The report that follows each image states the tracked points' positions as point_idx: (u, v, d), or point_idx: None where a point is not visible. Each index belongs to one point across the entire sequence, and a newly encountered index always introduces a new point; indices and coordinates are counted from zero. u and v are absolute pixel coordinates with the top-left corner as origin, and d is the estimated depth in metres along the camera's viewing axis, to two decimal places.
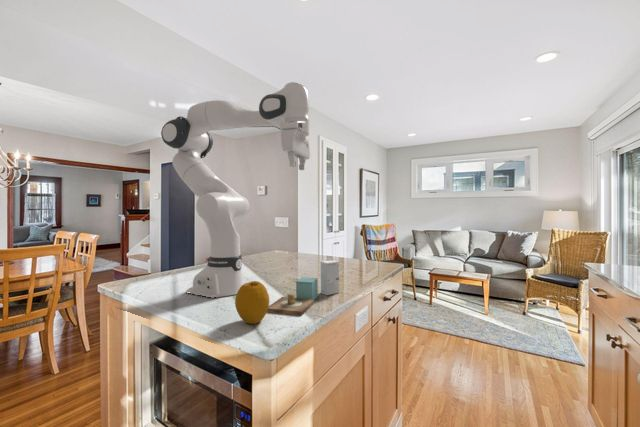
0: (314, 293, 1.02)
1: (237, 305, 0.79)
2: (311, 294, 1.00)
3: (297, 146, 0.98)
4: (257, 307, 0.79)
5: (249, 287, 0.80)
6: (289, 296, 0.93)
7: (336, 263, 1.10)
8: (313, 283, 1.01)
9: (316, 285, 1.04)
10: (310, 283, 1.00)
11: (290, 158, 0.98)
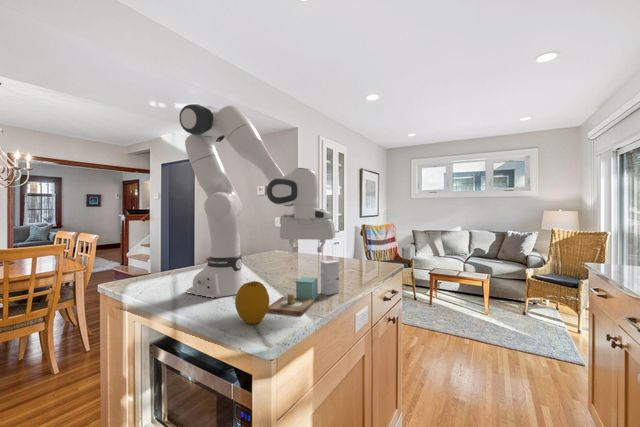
0: (314, 293, 1.02)
1: (237, 305, 0.79)
2: (311, 294, 1.00)
3: None
4: (257, 307, 0.79)
5: (249, 287, 0.80)
6: (289, 296, 0.93)
7: (336, 263, 1.10)
8: (313, 283, 1.01)
9: (316, 285, 1.04)
10: (310, 283, 1.00)
11: (323, 245, 1.01)
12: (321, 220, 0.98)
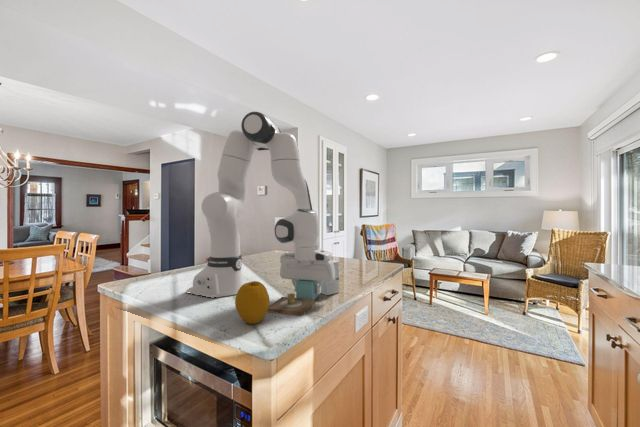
0: (314, 293, 1.02)
1: (237, 305, 0.79)
2: (311, 294, 1.00)
3: None
4: (257, 307, 0.79)
5: (249, 287, 0.80)
6: (289, 296, 0.93)
7: (336, 263, 1.10)
8: (313, 283, 1.01)
9: (315, 285, 1.04)
10: (310, 283, 1.00)
11: (320, 286, 1.02)
12: (321, 262, 0.99)
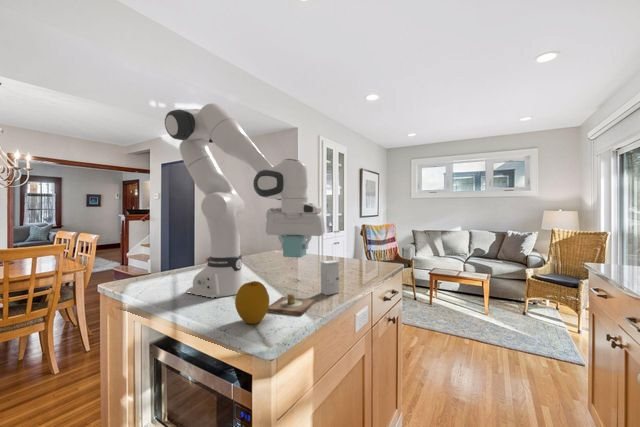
0: (302, 249, 0.95)
1: (237, 305, 0.79)
2: (299, 249, 0.93)
3: None
4: (257, 307, 0.79)
5: (249, 287, 0.80)
6: (289, 296, 0.93)
7: (336, 263, 1.10)
8: (301, 238, 0.94)
9: (304, 242, 0.97)
10: (298, 238, 0.93)
11: (308, 241, 0.95)
12: (310, 215, 0.92)
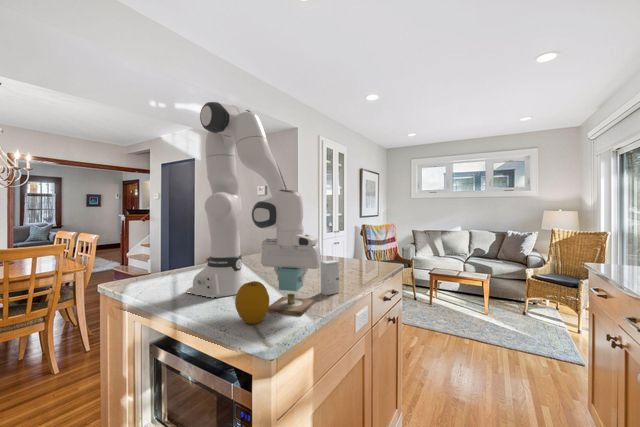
0: (298, 282, 0.93)
1: (237, 305, 0.79)
2: (295, 283, 0.91)
3: None
4: (257, 307, 0.79)
5: (249, 287, 0.80)
6: (289, 296, 0.93)
7: (336, 263, 1.10)
8: (297, 271, 0.92)
9: (300, 274, 0.94)
10: (293, 271, 0.91)
11: (304, 274, 0.92)
12: (305, 248, 0.90)
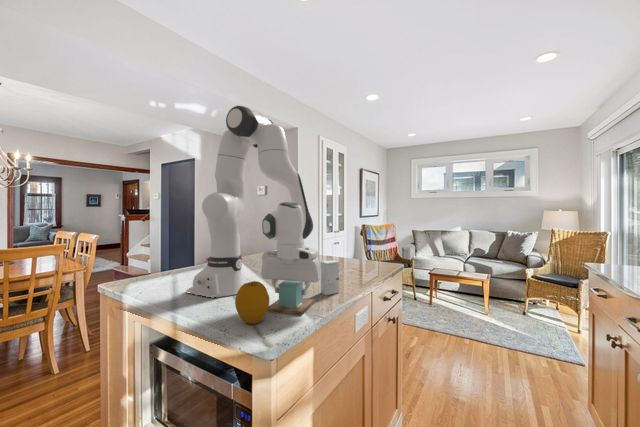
0: (298, 298, 0.93)
1: (237, 305, 0.79)
2: (295, 298, 0.91)
3: None
4: (257, 307, 0.79)
5: (249, 287, 0.80)
6: None
7: (336, 263, 1.10)
8: (297, 286, 0.92)
9: (300, 289, 0.95)
10: (293, 287, 0.91)
11: (307, 287, 0.92)
12: (306, 261, 0.90)
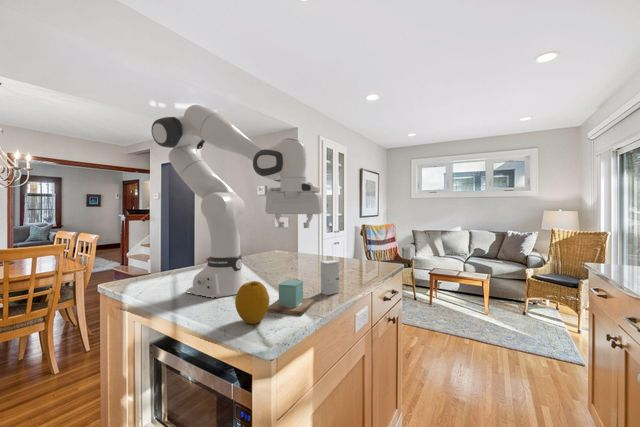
0: (298, 298, 0.93)
1: (237, 305, 0.79)
2: (295, 298, 0.91)
3: None
4: (257, 307, 0.79)
5: (249, 287, 0.80)
6: None
7: (336, 263, 1.10)
8: (297, 286, 0.92)
9: (300, 289, 0.95)
10: (293, 287, 0.91)
11: (309, 220, 0.96)
12: (308, 193, 0.93)
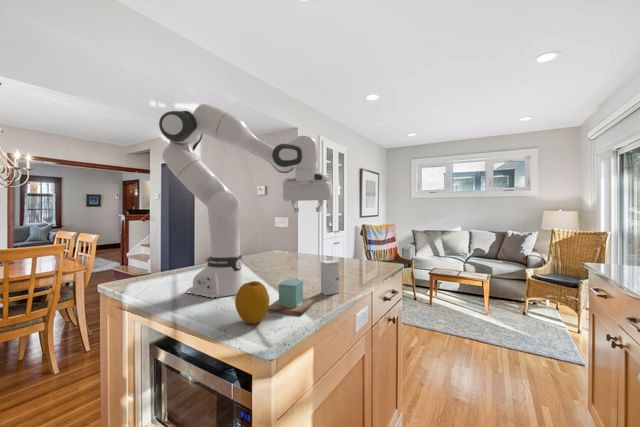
0: (298, 298, 0.93)
1: (237, 305, 0.79)
2: (295, 298, 0.91)
3: None
4: (257, 307, 0.79)
5: (249, 287, 0.80)
6: None
7: (336, 263, 1.10)
8: (297, 286, 0.92)
9: (300, 289, 0.95)
10: (293, 287, 0.91)
11: (321, 205, 1.13)
12: (320, 182, 1.11)
